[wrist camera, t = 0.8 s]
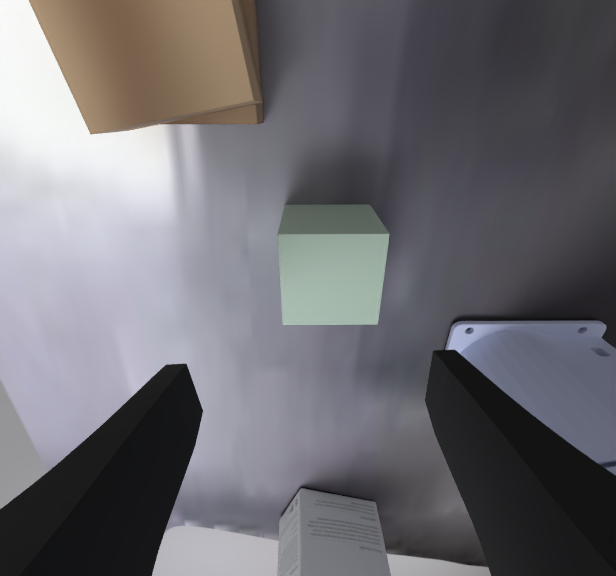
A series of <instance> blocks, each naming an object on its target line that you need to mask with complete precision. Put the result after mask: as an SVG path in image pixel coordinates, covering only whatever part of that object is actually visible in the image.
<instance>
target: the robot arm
mask: <svg viewBox="0 0 616 576" xmlns="http://www.w3.org/2000/svg"><path fill="white" fill-rule="evenodd" d="M470 327H471V328H470ZM467 328H470V329H469V330H466V329H467ZM606 328H607V327H606V325H605V324H604V323H602V322H601V321H458V322H456V323H454V324H453V325H452V327H451V330H450V334H449V337H448V341H447V345H446V348H445V350H435V351H433V355H432V361H431V367H430V373H429V379H428V385H427V392H426V398H425V402H426V405H427V409H428V412H429V416H430V419H431V422H432V426H433V429H434V432H435V435H436V438H437V440H438V443H439V445H440V447H441V450H442V452H443V454H444V457H445V459H446V462H447V464H448V466H449V469H450V471H451V473H452V476H453V478H454V480H455V483H456V485H457V487H458V490H459V492H460V494H461V497H462V499H463V501H464V504H465V506H466V508H467V511H468V513H469V515H470V518H471V520H472V522H473V525H474V528H475V530H476V533H477V535H478V538H479V540H480V543H481V546H482V549H483V552H484V555H485V558H486V561H487V564H488V567H489V570H490V573H491V576H616V349H615V348H614V347H613V346H611V345H610V344H609V343H607V342H606V341H605V340H604V339H602V336H603V334H604V332H605V331H606ZM202 413H203V410H202V407H201V404H200V401H199V398H198V395H197V393H196V390H195V387H194V384H193V381H192V378H191V375H190V373H189V370H188V367H187V364H172V365H166V366H164V367H163V368H162V369H161V370H160V371H159V372H158V373H157V374H156V375H155V376H153V377H152V378H151V379H150V380H149V381H148V382H147V383H146V384H145V385H144V386H143V387H142V388H141V389H140V390H139V391H138V392H137V393H136V394H135V395H134V396H132V397H131V398H130V399H129V400H128V401H127V402H126V403H125V404H124V405H123V406H122V407H121V408H120V409H119V410H118V411H117V412H115V413H114V414H113V415H112V416H111V417H110V418H109V419H108V420H107V421H106V422H105V423H104V424H103V425H102V426H100V427H99V428H98V429H97V430H96V431H95V432H94V433H93V434H91V435H90V436H89V437H88V438H87V439H86V440H85V441H83V442H82V443H81V444H80V445H79V446H78V447H77V448H75V449H74V450H73V451H72V452H71V453H70V454H69V455H67V456H66V457H65V458H64V459H63V460H62V461H61V462H59V463H58V464H57V465H56V466H55V467H53V468H52V469H51V470H50V471H49V472H47V473H46V474H45V475H44V476H42V477H41V478H40V479H39V480H38V481H36V482H35V483H34V484H33V485H31V486H30V487H29V488H27V489H26V490H25V491H23V492H22V493H21V494H20V495H18V496H17V497H16V498H14V499H13V500H12V501H11V502H9V503H8V504H7V505H6V506H4V507H3V508H1V509H0V576H152V572H153V569H154V565H155V561H156V557H157V554H158V550H159V547H160V544H161V541H162V538H163V535H164V532H165V529H166V526H167V523H168V520H169V518H170V515H171V512H172V509H173V506H174V504H175V501H176V498H177V495H178V493H179V490H180V487H181V484H182V481H183V479H184V476H185V473H186V470H187V467H188V464H189V462H190V459H191V456H192V453H193V450H194V447H195V444H196V439H197V435H198V431H199V427H200V422H201V417H202Z"/></svg>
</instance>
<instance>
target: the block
mask: <svg viewBox="0 0 616 576" xmlns="http://www.w3.org/2000/svg"><path fill="white" fill-rule="evenodd" d="M389 235H390V234H389V232H388V231H387V229H386V228H385V226H384V225H383V223H382V222H381V220H380V219H379V217H378V216H377V214H376V213H375V211H374V210H373V208H372V207H371V205H370V204H345V205H285V206H284V211H283V215H282V219H281V223H280V228H279V232H278V245H279V264H280V283H281V301H282V320H283V325H368V324H378V318H379V310H380V303H381V295H382V288H383V280H384V272H385V265H386V257H387V250H388V242H389Z"/></svg>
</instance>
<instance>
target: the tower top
mask: <svg viewBox="0 0 616 576" xmlns="http://www.w3.org/2000/svg"><path fill="white" fill-rule="evenodd" d="M29 2H30V4H31V6H32V8H33V11H34V13H35V15H36V17H37V19H38V21H39V24H40V26H41V28H42V30H43V32H44V34H45V37H46V39H47V41H48V43H49V45H50V47H51V50H52V52H53V54H54V56H55V58H56V60H57V62H58V65H59V67H60V69H61V71H62V73H63V75H64V78H65V80H66V82H67V84H68V86H69V88H70V91H71V93H72V95H73V97H74V99H75V101H76V104H77V106H78V108H79V110H80V112H81V114H82V117H83V119H84V121H85V123H86V125H87V127H88V129H89V132H90V134H98V133H109V132H119V131H129V130H134V129H139V128H143V127H148V126H153V125H158V124H163V123H168V122H172V121H177V120H182V119H187V118H192V117H197V116H201V115H206V114H211V113H216V112H221V111H226V110H230V109H235V108H240V107H245V106H250V105H255V104H259V103H264V101H263V96H262V91H261V87H260V82H259V77H258V72H257V68H256V63H255V58H254V53H253V49H252V44H251V39H250V34H249V30H248V25H247V20H246V15H245V11H244V6H243V1H242V0H29Z"/></svg>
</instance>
